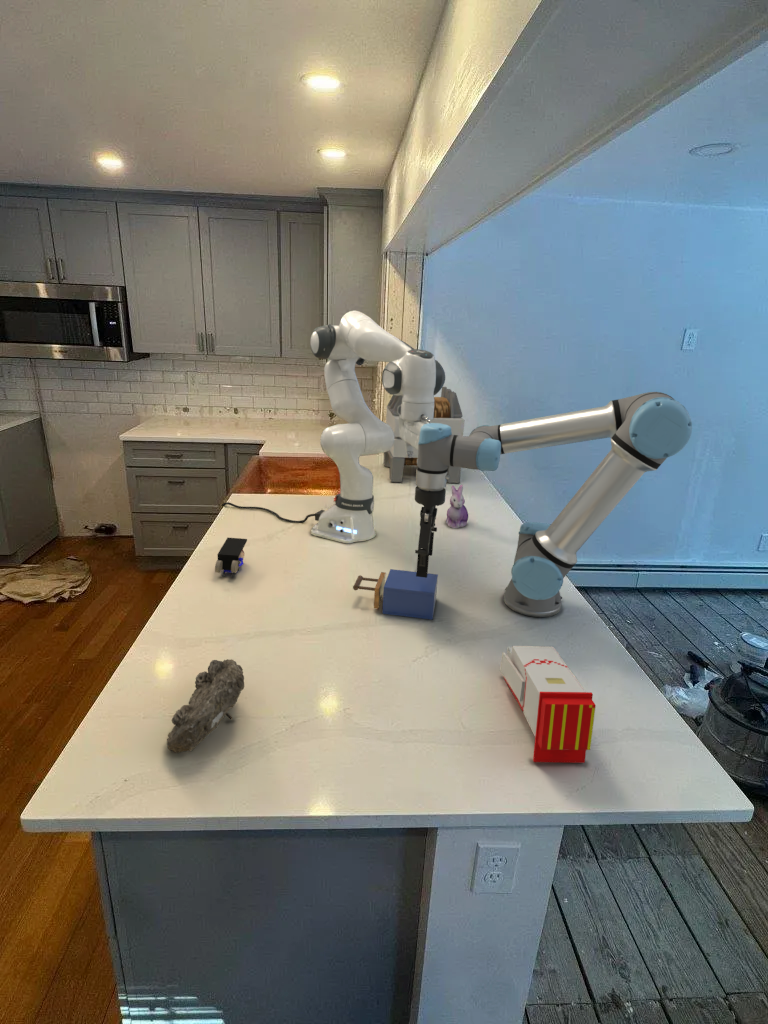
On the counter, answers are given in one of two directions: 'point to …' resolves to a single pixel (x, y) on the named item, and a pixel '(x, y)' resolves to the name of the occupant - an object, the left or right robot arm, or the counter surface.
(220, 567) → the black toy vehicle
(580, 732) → the toy
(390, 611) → the blue square-sided box
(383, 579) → the wooden drawer
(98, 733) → the counter surface
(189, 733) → the fossil
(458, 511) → the figurine
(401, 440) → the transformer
